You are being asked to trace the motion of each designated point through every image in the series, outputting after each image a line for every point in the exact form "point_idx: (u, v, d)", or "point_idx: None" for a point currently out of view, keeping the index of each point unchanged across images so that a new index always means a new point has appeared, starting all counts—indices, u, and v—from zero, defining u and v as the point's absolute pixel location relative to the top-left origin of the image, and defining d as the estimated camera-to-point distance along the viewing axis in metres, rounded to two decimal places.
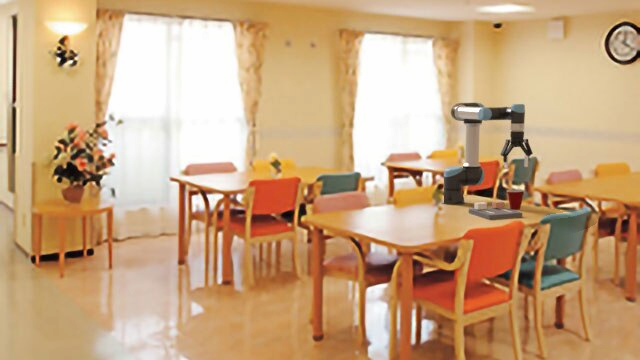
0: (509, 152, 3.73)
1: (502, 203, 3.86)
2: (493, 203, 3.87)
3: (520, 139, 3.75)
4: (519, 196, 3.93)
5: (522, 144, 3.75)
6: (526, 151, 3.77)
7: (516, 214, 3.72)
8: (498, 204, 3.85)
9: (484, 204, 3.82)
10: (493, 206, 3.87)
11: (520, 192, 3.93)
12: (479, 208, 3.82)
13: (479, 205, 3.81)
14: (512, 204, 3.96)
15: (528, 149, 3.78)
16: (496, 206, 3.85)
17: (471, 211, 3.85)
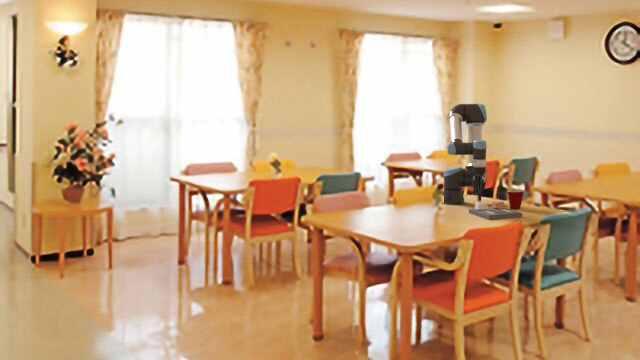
0: (476, 189, 3.85)
1: (502, 203, 3.86)
2: (493, 203, 3.87)
3: (479, 174, 3.81)
4: (519, 196, 3.93)
5: (477, 180, 3.82)
6: (478, 189, 3.83)
7: (516, 214, 3.72)
8: (498, 204, 3.85)
9: (485, 204, 3.82)
10: (493, 206, 3.87)
11: (520, 192, 3.93)
12: (480, 208, 3.81)
13: (480, 205, 3.81)
14: (512, 204, 3.96)
15: None
16: (496, 206, 3.85)
17: (471, 211, 3.85)
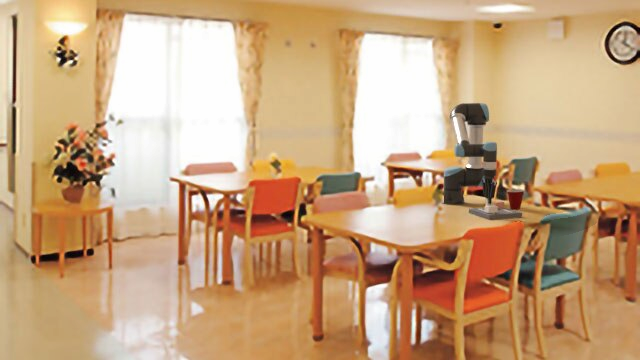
0: (486, 192, 3.75)
1: (502, 203, 3.86)
2: (493, 203, 3.87)
3: (490, 176, 3.71)
4: (519, 196, 3.93)
5: (487, 183, 3.72)
6: (488, 192, 3.73)
7: (516, 214, 3.72)
8: (498, 204, 3.85)
9: (495, 207, 3.72)
10: None
11: (520, 192, 3.93)
12: (490, 211, 3.71)
13: (490, 208, 3.71)
14: (512, 204, 3.96)
15: None
16: None
17: (471, 211, 3.85)
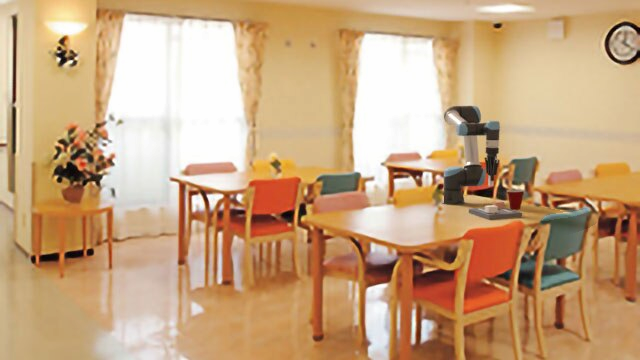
0: (489, 169, 3.88)
1: (502, 203, 3.86)
2: (493, 203, 3.87)
3: (492, 154, 3.83)
4: (519, 196, 3.93)
5: (490, 161, 3.85)
6: (490, 170, 3.86)
7: (516, 214, 3.72)
8: (498, 204, 3.85)
9: (495, 207, 3.72)
10: None
11: (520, 192, 3.93)
12: (490, 211, 3.71)
13: (490, 208, 3.71)
14: (512, 204, 3.96)
15: None
16: None
17: (471, 211, 3.85)
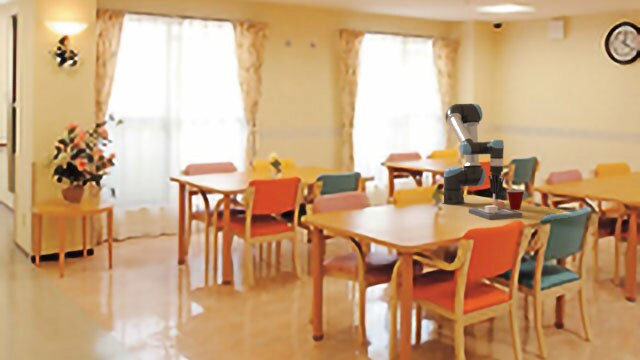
0: (493, 188, 3.89)
1: (502, 203, 3.86)
2: (493, 203, 3.87)
3: (497, 172, 3.85)
4: (519, 196, 3.93)
5: (494, 179, 3.86)
6: (495, 188, 3.87)
7: (516, 214, 3.72)
8: (498, 204, 3.85)
9: (495, 207, 3.72)
10: None
11: (520, 192, 3.93)
12: (490, 211, 3.71)
13: (490, 208, 3.71)
14: (512, 204, 3.96)
15: None
16: None
17: (471, 211, 3.85)
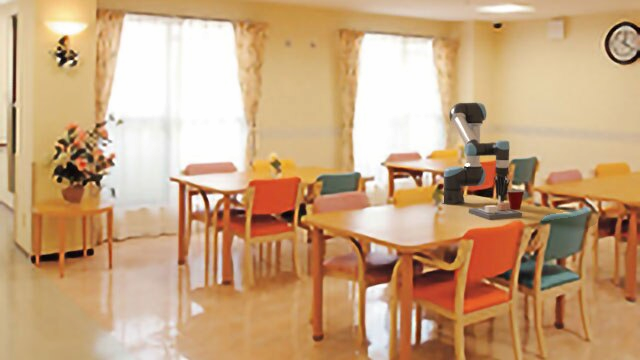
0: (498, 189, 3.84)
1: (508, 205, 3.81)
2: (498, 205, 3.82)
3: (502, 174, 3.80)
4: (519, 196, 3.93)
5: (500, 181, 3.81)
6: (500, 190, 3.82)
7: (516, 214, 3.72)
8: (503, 206, 3.80)
9: (495, 207, 3.72)
10: (498, 208, 3.82)
11: (520, 192, 3.93)
12: (490, 211, 3.71)
13: (490, 208, 3.71)
14: (512, 204, 3.96)
15: None
16: (501, 208, 3.80)
17: (471, 211, 3.85)
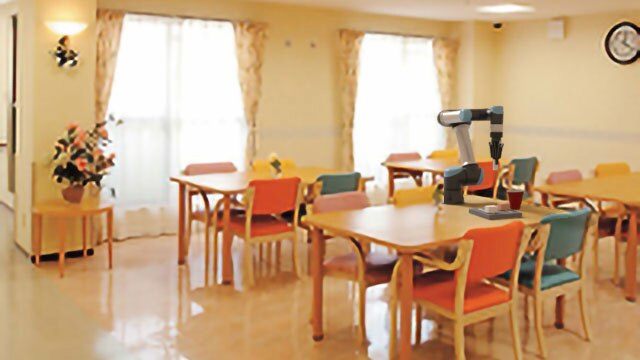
0: (493, 153, 3.95)
1: (508, 205, 3.81)
2: (498, 205, 3.82)
3: (497, 138, 3.90)
4: (519, 196, 3.93)
5: (494, 145, 3.92)
6: (495, 154, 3.93)
7: (516, 214, 3.72)
8: (503, 206, 3.80)
9: (495, 207, 3.72)
10: (498, 208, 3.82)
11: (520, 192, 3.93)
12: (490, 211, 3.71)
13: (490, 208, 3.71)
14: (512, 204, 3.96)
15: None
16: (501, 208, 3.80)
17: (471, 211, 3.85)
